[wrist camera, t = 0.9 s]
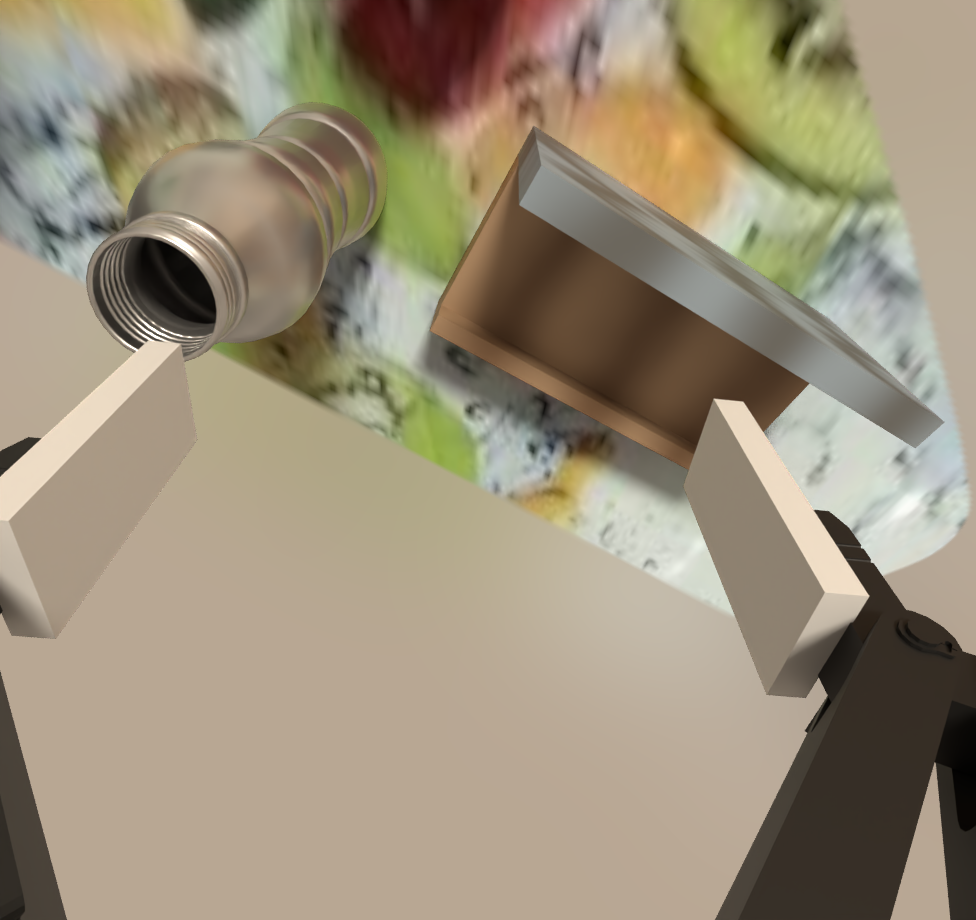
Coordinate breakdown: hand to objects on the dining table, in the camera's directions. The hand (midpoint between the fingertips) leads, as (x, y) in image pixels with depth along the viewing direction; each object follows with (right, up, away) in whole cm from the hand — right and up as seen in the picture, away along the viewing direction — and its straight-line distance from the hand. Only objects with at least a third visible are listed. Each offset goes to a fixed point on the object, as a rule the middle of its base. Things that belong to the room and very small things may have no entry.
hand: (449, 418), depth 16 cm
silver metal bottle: (-7, +14, +18) cm, 24 cm away
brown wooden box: (+9, +7, +21) cm, 24 cm away
